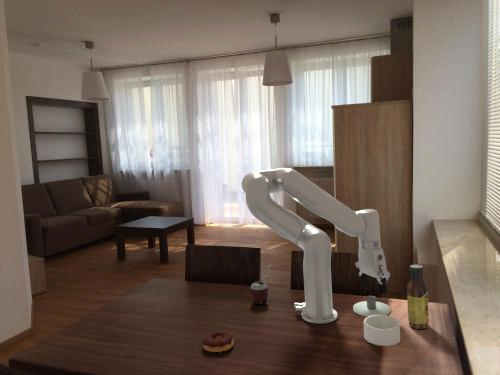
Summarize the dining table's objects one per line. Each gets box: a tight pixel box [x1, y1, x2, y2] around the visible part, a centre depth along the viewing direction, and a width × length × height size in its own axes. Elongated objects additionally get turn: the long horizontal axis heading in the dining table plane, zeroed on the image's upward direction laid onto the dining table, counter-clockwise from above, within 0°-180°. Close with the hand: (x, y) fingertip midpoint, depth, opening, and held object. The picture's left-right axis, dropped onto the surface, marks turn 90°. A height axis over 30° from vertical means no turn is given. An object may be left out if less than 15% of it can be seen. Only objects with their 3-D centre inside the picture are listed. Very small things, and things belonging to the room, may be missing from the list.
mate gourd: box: [249, 264, 272, 305], centre depth 162 cm, size 8×8×15 cm
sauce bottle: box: [406, 264, 430, 330], centre depth 133 cm, size 7×6×20 cm
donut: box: [202, 330, 235, 353], centre depth 129 cm, size 10×10×4 cm
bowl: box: [363, 315, 401, 347], centre depth 127 cm, size 11×11×5 cm
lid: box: [352, 295, 392, 318], centre depth 149 cm, size 13×13×5 cm
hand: (373, 290), depth 148 cm, fingers open, 9 cm apart
